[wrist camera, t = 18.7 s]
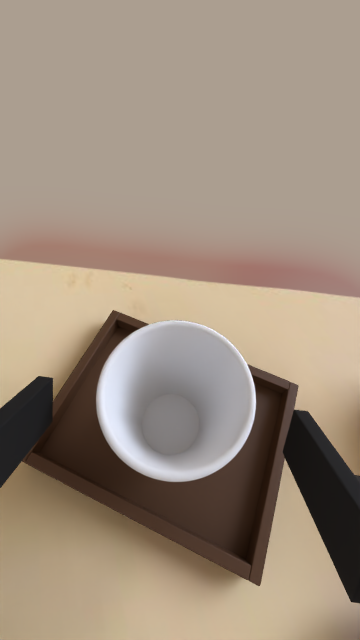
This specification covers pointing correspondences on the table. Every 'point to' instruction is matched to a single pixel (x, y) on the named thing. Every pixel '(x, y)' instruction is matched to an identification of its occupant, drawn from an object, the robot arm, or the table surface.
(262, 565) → the tray
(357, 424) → the table surface
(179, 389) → the dixie cup
